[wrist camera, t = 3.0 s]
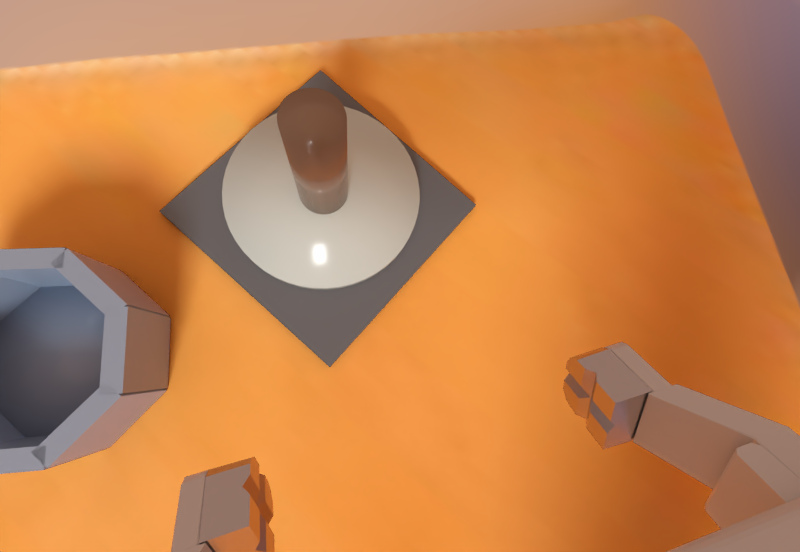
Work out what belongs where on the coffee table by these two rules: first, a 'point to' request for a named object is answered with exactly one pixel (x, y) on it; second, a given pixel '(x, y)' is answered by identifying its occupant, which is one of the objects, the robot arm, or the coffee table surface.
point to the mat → (306, 308)
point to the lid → (320, 193)
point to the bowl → (73, 356)
